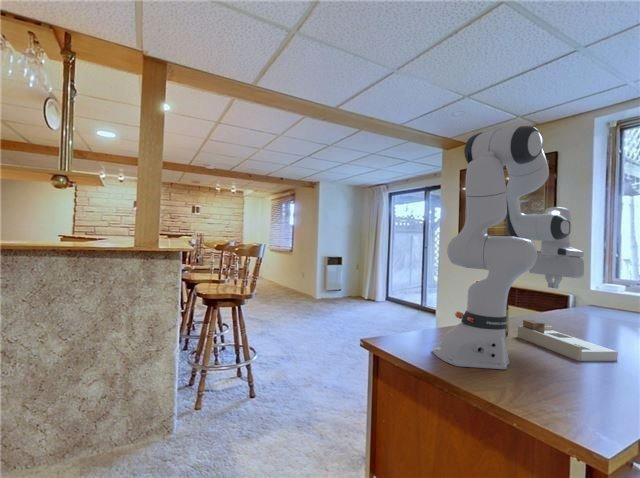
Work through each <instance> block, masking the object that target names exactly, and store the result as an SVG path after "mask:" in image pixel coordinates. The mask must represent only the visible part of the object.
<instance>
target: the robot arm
mask: <svg viewBox="0 0 640 478" xmlns="http://www.w3.org/2000/svg"><path fill="white" fill-rule="evenodd" d="M543 147H544V138H543V135H542V133H541V132H540V131H539V129H537V128H536V127H534V126H531V125H530V126H529V125H522V126H518V127H508V128H507V127H506V128H498V129H493V130H487V131H486V132H479V133H477V134H474V135H472V136H470V137H469V138H468V139H467V141H466V143H465V146H464V149H463V150H464V151H463V155H464V157H465V161H466V162H467V166H466V173H465V181H464V183H465V185H464V186H465V187H464V189H465V190H464V191H465V204H466V205H465V207H466V213H465V222H464V225H463V228H462V229H461V230H460V232H459V233H458V234H456V235H455V236H454V237H453V238H452V239H451V240H450V241H449V243H448V244H447V249H446V250H447V251H446V253H447V258H448V260H449V261H450V263H451V264H452V265H454V266H458V267H462V268H466V269H472V270H473V269H474V270H477V269H478V270H484V271H486V270H487V271H488V273H487V276H486V278H485V279H481V280H479V281H475V282H473V283H472V284H471V285H470V286H469V287H468V289H467V302H466V304H467V305H466V310H465V312H464V313H462V312H460V311H456V312H455V313H454V316H455V317H456V318H458V319H461V320H460V321H461V322H460V323H458V324H457V325H455V326H454V327H452V328H451V329H449V330H448V331H447V332H445V333H444V334H443V335H442V337H441V338H442V339H441V342H440V346H437V347H436V346H435V347H433V349H432V352H433V354H434V355H435V356H436V358H439V359H440V360H442V361H444V362H446V363H448V364H451V365H452V366H455V367H463V368H464V367H466V368H468V367H469V368H477V369H478V368H481V369H491V370H493V369H497V370H507V369H508V366H509V365H510V359H509V355H508V350H507V349H508V348H507V341H506V340H507V338H506V337H507V336H506V335H505V331H506V328H507V316H506V305H507V303H508V296H509V292H510V289H511V286H512V285H513V283H514V282H515V281H516V280H517V279H518V278H519V277H520V276H522V275H523V274H525V273H527V272H529V273H530V274H535V275H544V276H545V277H544V278H545V280H546V283H547V287H548V288H549V289H559V285H560V283H561V282H562V280H563V278H570V279H572V278H573V279H582V278H583V277H584V275H585V261H584V259H583V257H584V255H585V252H584V251H583V250H580V249H577V248H575V247H572V246H571V241H570V236H571V233H572V216H571V211H570V209H568V208H566V207H562V206H553V207H552V206H551V207H548V208H547V207H546V209H545V210H544V213H539V214H536V213H535V214H525V213H523V212H522V209H521V202H520V198H521V197H524V196H527V195H528V194H532V193H533V192H536V191H537V190H538V189H540V188H542V187H543V186H544V184H545V183H546V182H547V180H548V178H549V176H550V170H549V168H550V167H549V165H548V164H549V163H548V160H547V158H546V155H545V153H544V150H543ZM504 167H506V172H507V174H508V180H507V181H506V176H505V172H504ZM505 219H506V232H507V235H506V236H505V235H489V234H488V229H490V228H492V227H494V226H497V225H498V224H500V223H502V222H503V221H504V220H505ZM532 241H541V245H540V250H537V248H536V247H537V246H536V245H535V244H534V242H532ZM553 279H554V280H553Z"/></svg>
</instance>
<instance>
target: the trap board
mask: <svg viewBox="0 0 640 478" xmlns="http://www.w3.org/2000/svg"><path fill="white" fill-rule="evenodd" d="M517 337H518V338H520V339H523V340H525V341H528V342H530V343H533V344H535V345H538V346H540V347H542V348H544V349H547V350H550V351H553V352H555V353H558V354H560V355H563V356H565V357H568V358H571V359H572V360H575V361H578V362H596V361H597V362H599V361H600V362H606V361H607V362H609V361H610V362H613V361H616V362H617V361H618V357H619V356H618V354H619V352H618V351H617V350H614V349H610V348H607V347H605V346H601V345H599V344H595V343H593V342H590V341H586V340H583V339H580V338H578V337H574V336H570V335H568V334H564V333H562V332H559V331H556V330H554V329H553V326H551V325H545V327H544V334H543V333H540V332H537V331H534V330H532V329H529V328H526V327H523V325H518V326H517Z"/></svg>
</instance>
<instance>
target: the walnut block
mask: <svg viewBox="0 0 640 478" xmlns="http://www.w3.org/2000/svg"><path fill="white" fill-rule="evenodd" d="M522 322H523V323H522V326H523V327H526V328H529V329H532V330H534V331H537V332H540V333H543V334H544V327H545V326H546V324H545V323H544V322H541V321H538V320H532V319H531V320H530V319H524V320H522Z"/></svg>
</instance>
